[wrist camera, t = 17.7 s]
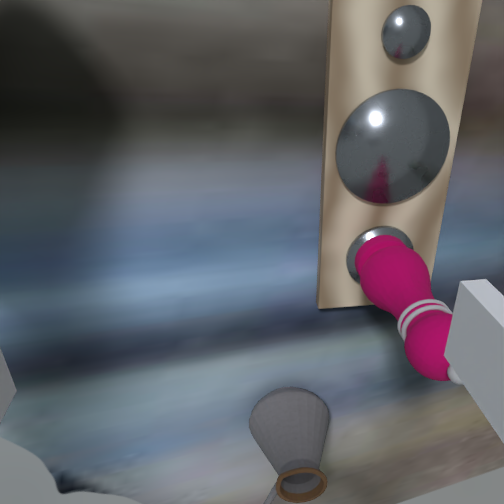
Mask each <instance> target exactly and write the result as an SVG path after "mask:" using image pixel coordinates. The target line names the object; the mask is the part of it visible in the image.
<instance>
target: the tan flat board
mask: <svg viewBox="0 0 504 504" xmlns="http://www.w3.org/2000/svg"><path fill="white" fill-rule="evenodd" d="M481 4H482V0H329V9H328V33H327V57H326V81H325V105H324V129H323V153H322V176H321V200H320V224H319V248H318V272H317V296H316V303H317V305H318V308H319V309H322V308H336V307H349V306H362V305H374V304H373V303H372V302H371V301H370V300H369V299H368V298H367V297H366V295H365V294H364V292H363V290H362V288H361V284H359V283H358V282H356V281H355V280H354V279H353V278H352V277H351V275H350V273H349V271H348V269H347V266H346V254H347V251H348V249H349V247H350V245H351V243H352V242H353V241H354V240H355V239H356V237H357V236H359V235H360V234H361V233H363V232H364V231H366V230H368V229H371V228H373V227H377V226H392V227H395V228H398V229H400V230H401V231H403V232H404V233H405V234H406V235H407V236H408V237H409V238H410V240H411V242H412V244H413V248H414V251H415V252H417V253H418V254H419V255H420V256H421V257H422V259H423V260H424V262H425V264H426V265H427V267H428V271H429V274H430V282H431V277H432V271H433V266H434V260H435V255H436V249H437V244H438V238H439V233H440V228H441V222H442V217H443V211H444V206H445V200H446V195H447V189H448V184H449V178H450V173H451V168H452V162H453V157H454V151H455V146H456V140H457V135H458V129H459V124H460V119H461V113H462V108H463V102H464V97H465V91H466V86H467V80H468V75H469V69H470V64H471V59H472V53H473V48H474V42H475V37H476V31H477V26H478V20H479V15H480V10H481ZM404 5H416V6H419V7H421V8H422V9H424V10H425V11H426V13H427V14H428V16H429V18H430V22H431V33H430V37H429V40H428V42H427V44H426V46H425V47H424V48H423V49H422V51H420V52H419V53H418V54H417V55H415V56H413V57H411V58H407V59H399V58H395V57H393V56H391V55H389V54H388V53H387V52H386V51H385V49H384V47H383V45H382V41H381V31H382V27H383V24H384V22H385V20H386V18H387V17H388V16H389V14H390V13H391V12H392V11H394V10H395V9H397V8H398V7H401V6H404ZM398 88H399V89H411V90H415V91H418V92H421V93H423V94H425V95H427V96H429V97H430V98H432V99H433V100H434V101H435V102H436V103H437V104H438V105H439V106H440V107H441V109H442V110H443V111H444V113H445V115H446V118H447V121H448V124H449V129H450V144H449V150H448V154H447V157H446V159H445V162H444V164H443V166H442V168H441V169H440V171H439V173H438V174H437V175H436V177H435V178H434V179H433V180H432V181H431V182H430V183H429V184H428V185H427V186H426V187H425V188H424V189H423V190H421V191H420V192H418V193H417V194H415V195H413V196H411V197H410V198H407V199H405V200H402V201H398V202H394V203H373V202H369V201H366V200H364V199H361V198H360V197H358V196H356V195H355V194H354V193H353V192H351V191H350V190H349V189H348V187H347V186H346V185H345V184H344V182H343V181H342V179H341V177H340V175H339V173H338V170H337V166H336V160H335V150H336V143H337V139H338V135H339V133H340V130H341V128H342V126H343V124H344V122H345V121H346V119H347V118H348V116H349V115H350V114H351V113H352V112H353V110H354V109H355V108H356V107H357V106H359V105H360V104H361V103H362V102H363V101H365V100H366V99H368V98H369V97H371V96H373V95H375V94H377V93H380V92H382V91H386V90H390V89H398Z"/></svg>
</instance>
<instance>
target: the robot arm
mask: <svg viewBox="0 0 504 504" xmlns="http://www.w3.org/2000/svg"><path fill="white" fill-rule="evenodd" d="M444 356H445V358H446V359H447V361H448V362H449V364H450V365H451V367H452V368H453V370H454V371H455V373H456V374H457V375H458V377H459V378H460V380H461V381H462V383H463V384H464V386H465V387H466V389H467V390H468V392H469V393H470V395H471V396H472V397H473V399H474V400H475V402H476V403H477V405H478V406H479V408H480V409H481V411H482V412H483V414H484V415H485V417H486V418H487V419H488V421H489V422H490V424H491V425H492V427H493V428H494V430H495V431H496V433H497V434H498V436H499V437H500V439H501V440H502V441H503V443H504V296H503V295H502V294H501V293H500V292H499V291H498V290H497V289H496V288H495V287H494V286H493V285H492V284H491V283H489V282H488V281H487V280H486V279H483V280H469V281H460V285H459V289H458V294H457V298H456V303H455V307H454V312H453V316H452V321H451V325H450V330H449V334H448V339H447V344H446V348H445V353H444ZM16 392H17V390H16V388H15V385H14V382H13V380H12V377H11V375H10V372H9V369H8V367H7V364H6V362H5V359H4V356H3V354H2V351H1V349H0V423H1V421H2V419H3V417H4V415H5V413H6V411H7V409H8V407H9V405H10V403H11V401H12V399H13V397H14V396H15V394H16Z"/></svg>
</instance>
